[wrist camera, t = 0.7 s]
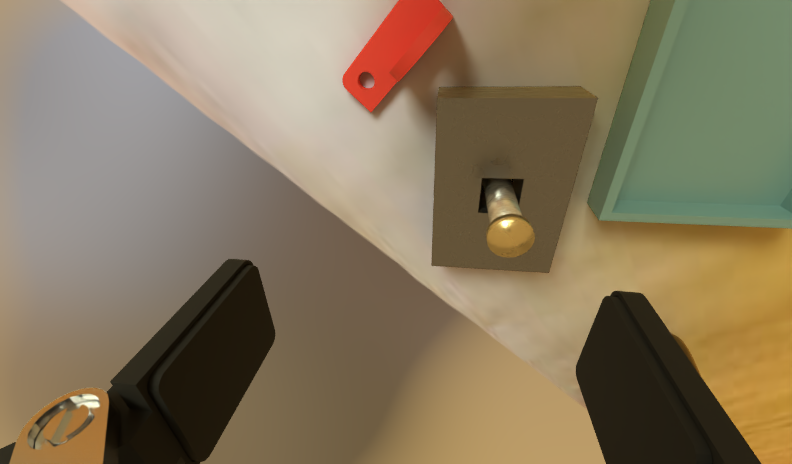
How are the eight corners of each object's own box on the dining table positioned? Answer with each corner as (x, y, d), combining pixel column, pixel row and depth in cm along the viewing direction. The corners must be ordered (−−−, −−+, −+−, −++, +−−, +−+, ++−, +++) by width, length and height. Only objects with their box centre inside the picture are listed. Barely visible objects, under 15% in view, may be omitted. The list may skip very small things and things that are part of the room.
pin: (479, 160, 40) (489, 218, 29) (515, 161, 39) (539, 220, 29) (476, 191, 42) (484, 256, 31) (510, 192, 42) (530, 258, 31)
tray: (680, -94, 26) (712, -108, 23) (996, -116, 24) (1083, -134, 21) (587, 202, 41) (598, 220, 38) (777, 209, 38) (808, 229, 35)
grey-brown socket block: (438, 87, 36) (437, 98, 32) (580, 86, 34) (597, 97, 30) (433, 242, 47) (431, 265, 43) (540, 248, 45) (548, 272, 41)
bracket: (418, -24, 31) (409, -31, 25) (452, 15, 33) (452, 19, 26) (341, 79, 37) (317, 96, 31) (372, 109, 38) (356, 131, 32)
